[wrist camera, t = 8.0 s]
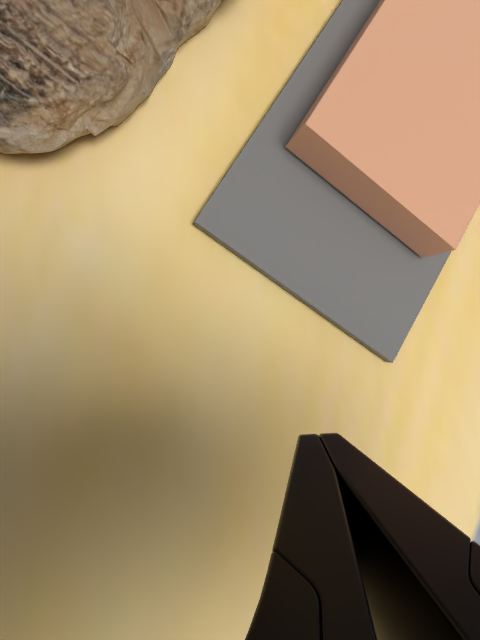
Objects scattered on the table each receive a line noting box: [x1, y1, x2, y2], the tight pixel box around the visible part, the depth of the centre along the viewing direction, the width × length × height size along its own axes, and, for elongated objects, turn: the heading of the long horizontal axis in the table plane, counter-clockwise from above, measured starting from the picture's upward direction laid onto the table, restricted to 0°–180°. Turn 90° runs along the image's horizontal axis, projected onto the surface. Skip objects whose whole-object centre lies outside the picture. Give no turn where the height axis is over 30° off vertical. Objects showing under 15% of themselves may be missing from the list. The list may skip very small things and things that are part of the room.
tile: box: [285, 0, 480, 258], centre depth 20 cm, size 2×9×15 cm
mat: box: [193, 0, 451, 363], centre depth 21 cm, size 20×12×1 cm, turn 148°
